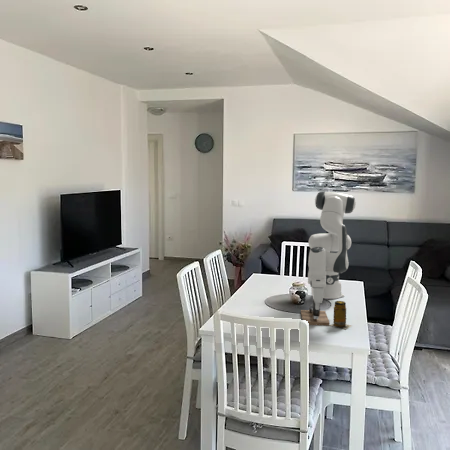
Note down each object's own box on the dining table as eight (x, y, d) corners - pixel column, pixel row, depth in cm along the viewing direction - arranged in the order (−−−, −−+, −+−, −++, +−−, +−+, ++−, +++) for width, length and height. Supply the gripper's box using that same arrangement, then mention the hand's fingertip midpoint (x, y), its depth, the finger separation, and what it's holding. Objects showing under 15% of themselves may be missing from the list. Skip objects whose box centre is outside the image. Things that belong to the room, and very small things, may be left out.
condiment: (336, 322, 232) (337, 299, 231) (352, 326, 227) (353, 302, 225) (329, 325, 227) (330, 302, 225) (345, 329, 221) (346, 305, 220)
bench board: (300, 312, 248) (300, 310, 248) (325, 313, 247) (325, 310, 247) (303, 324, 228) (303, 321, 228) (329, 325, 227) (329, 322, 227)
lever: (308, 309, 247) (309, 290, 245) (317, 310, 246) (317, 291, 245) (311, 321, 228) (312, 300, 227) (320, 321, 227) (321, 300, 226)
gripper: (308, 275, 238) (308, 301, 239) (312, 284, 218) (311, 312, 219) (321, 275, 237) (320, 301, 239) (325, 285, 217) (324, 313, 218)
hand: (316, 307), depth 229 cm, fingers open, 6 cm apart
